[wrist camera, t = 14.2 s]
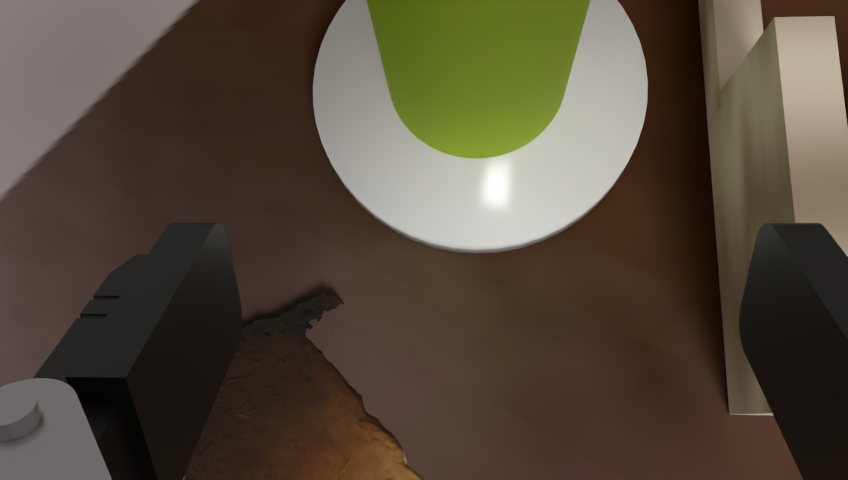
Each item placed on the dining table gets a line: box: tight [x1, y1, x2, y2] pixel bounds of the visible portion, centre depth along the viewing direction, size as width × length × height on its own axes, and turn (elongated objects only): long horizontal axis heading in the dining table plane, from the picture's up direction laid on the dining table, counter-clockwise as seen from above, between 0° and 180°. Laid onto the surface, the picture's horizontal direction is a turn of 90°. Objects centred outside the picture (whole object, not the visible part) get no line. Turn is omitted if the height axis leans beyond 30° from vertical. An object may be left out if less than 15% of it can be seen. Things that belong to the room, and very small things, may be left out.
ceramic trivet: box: [313, 0, 648, 254], centre depth 26 cm, size 11×11×1 cm
